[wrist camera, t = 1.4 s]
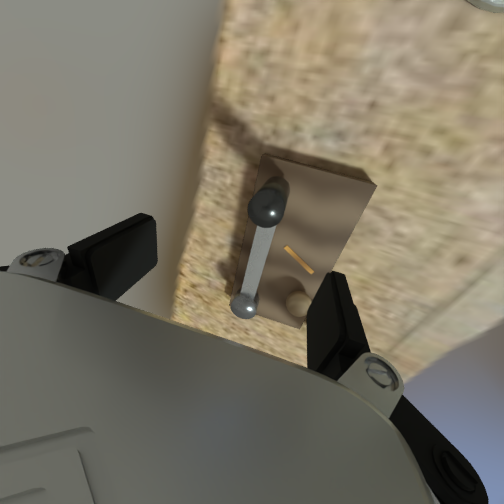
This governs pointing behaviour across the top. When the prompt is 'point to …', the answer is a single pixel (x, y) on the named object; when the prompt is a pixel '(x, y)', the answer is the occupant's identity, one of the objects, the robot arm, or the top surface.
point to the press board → (302, 236)
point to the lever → (260, 241)
